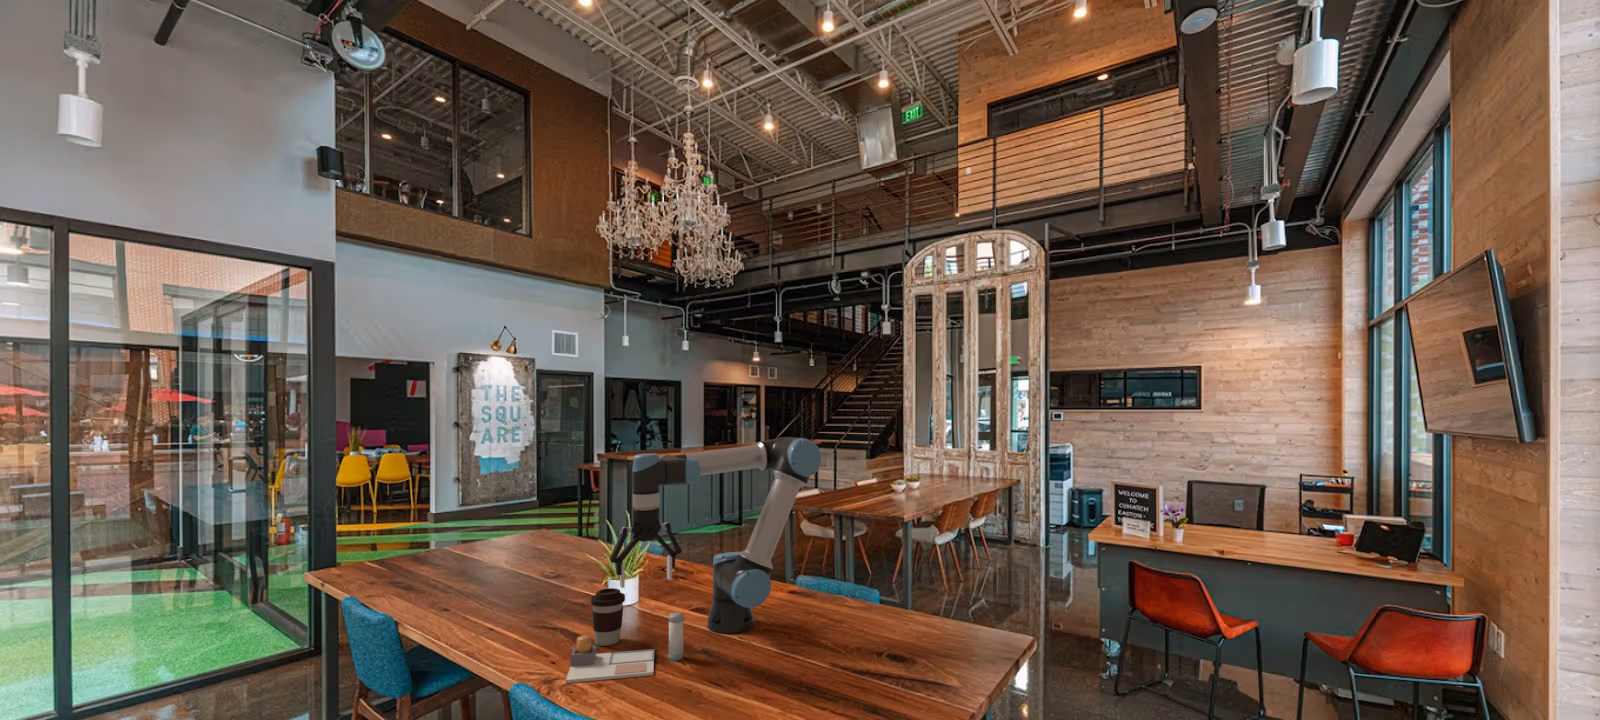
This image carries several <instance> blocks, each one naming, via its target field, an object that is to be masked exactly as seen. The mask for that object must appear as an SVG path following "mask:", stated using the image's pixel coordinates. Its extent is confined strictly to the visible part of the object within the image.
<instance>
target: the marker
mask: <svg viewBox="0 0 1600 720" xmlns="http://www.w3.org/2000/svg"><path fill="white" fill-rule="evenodd" d="M684 616H685V614H684V613H683V612H681V611H680V612H679V611H678V612H677V611H676V612H671V613H669V614H668V660H669V661H671V662H679V661H681V660H682V659H684V618H685V617H684Z"/></svg>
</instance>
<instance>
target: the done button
mask: <svg viewBox="0 0 1600 720" xmlns="http://www.w3.org/2000/svg"><path fill="white" fill-rule="evenodd" d="M591 645H592V636H591V635H589V634H587V635H585V634H584V635H580V636H577V638H576V647H577V654H578V653H590V652H591Z"/></svg>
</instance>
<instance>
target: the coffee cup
mask: <svg viewBox="0 0 1600 720" xmlns="http://www.w3.org/2000/svg"><path fill="white" fill-rule="evenodd" d="M625 601H626V595H625V593H623V592H621V590H620V589H619V588H614V587H611V588H610V587H609V588H603V589H600V590H598V591H596V594H595V595H593V596H591V598H590V604H591V606H592V626H593V627H592V628H593V631H594V632H593V636H594V645H596V646H600V647H607V646H608V647H609V646H613V645H615V644H618V643H619V641H620V639H621V630H622V629H621V628H622V624H623V614H624V607H623V605H624V602H625Z"/></svg>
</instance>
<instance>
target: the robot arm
mask: <svg viewBox="0 0 1600 720" xmlns="http://www.w3.org/2000/svg"><path fill="white" fill-rule="evenodd" d="M632 460H633V461H632V508H634V509H633V510H632V525H631V526H628V527H625V526H624V525H623V526H622V527H620V528H621V529H620V535H619V537H618V539H617V542H616V543H615V544H614V545H615V546H614V547H613V549H612V551H611V554H610V556H609V561H610V562H611V563H613V564H614V563H615V572H616V575H617V576H619V587H621V589H624V588H625V587H626V586H625V585H626V583H625V579H626V578H625V576H626V575H625V573H626V572H625V569H626V568H625V567H626V566H625V565H626V564H625V562H624V561H625V559H626V558H627V556H628V555H629V554H630V552H631V551H632V549H633V548H634V547H635V546H636V545H637V544H638V543H639V542H641V543H642V542H643V543H644V542H646V541H649V542H650V541H654V540H656V541H657V542H658V543H659V544H660V546H662V547H663V549H664V550H665V551H666V552H667V553H668V554H669V555H666V579H667V580H668V581H672V580H673V568H676V557H677V555H679V554H681V553H682V548H681V546H680V544H679V543H678V541H677V539H676V537H675V535H674V533H673V532H672V527H671V523H670V522H668V521H665V522H663V523H660V522H661V521H660V508H659V506H660V487H665V486H677V485H678V486H679V485H690V484H696V483H698V482H699V481H700V477H701V476H706V475H708V476H709V475H715V474H723V473H730V472H736V471H737V472H738V471H744V470H752V469H759V470H760V471H768V470H771V471H772V472H773V475H774V480H773V483H772V485H771V487H770V489H769V492H768V495H767V497H766V500H765V502H764V504H763V507H762V509H761V512H760V514H759V516H758V519H757V521H756V523H755V526H754V528H753V530H752V533H751V536H750V537H749V540H748V543H747V545H746V548H745V549H744V550H742V551H730V552H729V551H728V552H721V553H717V554H715V555H714V556H713V558H712V559H713V561H712V562H713V563H712V603H711V606H710V609H709V613H708V616H707V619H706V620H707V623H706V624H707V625H706V628H707V629H709V630H710V631H712V632H715V633H719V634H720V633H721V634H736V633H742V632H745V631H748V630H750V629H752V628H753V627H754V625H755V618H754V617H755V616H754V613H753V610H752V609H753V608H756V607H758V606H760V605H762V604H763V603H765V601H766V600H767V599H768V598H769V596H770V593H771V589H772V582H771V578H770V577H771V574H772V571H773V569H774V567H773V564H772V558H773V557H774V554H775V551H776V549H777V546H778V543H779V541H780V539H781V537H782V534H783V530H784V528H785V526H786V523H787V520H788V518H789V516H790V514H791V511H792V508H793V506H794V503H795V501H796V500H797V496H798V494H799V491H800V489H801V488H803V487H805V486H807V485H808V482H809V479H810V477H812V476H813V475H815V474H816V473H817V472H818V471H819V469H820V467H821V465H822V452H821V451H820V448H819V446H818V445H817V444H816V443H815V442H814V441H812V440H810V439H808V438H804V437H792V436H784V437H778V438H775V439H769V440H764V441H758V442H756V445H748V446H747V445H746V446H741V447H740V446H739V447H731V448H730V447H729V448H724V449H714V450H707V451H700V452H690V453H683V454H672V455H670V454H666V455H665V454H664V455H662V456H660V455H659V454H658V453H639V454H636V455H634V456H633V458H632ZM661 529H662V531H664V532H665V534H666V535H667V538H668V540H669V541H670V543H671V545H672V547H673V549H672V547H671V546H670V545H668V543H667V542H666V541H665V540H664V539H663V538H662V536H661V535H660V534H659V532H660V531H661ZM630 532H631V533H632V534H633V535H632V537H631V538H630V539H629V541H628V543H627V544H626V546H625V547H624V548H623V546H624V543H625V541H626V539H627V536H629V534H630ZM622 548H623V549H622ZM621 550H622V551H621ZM620 551H621V552H620Z"/></svg>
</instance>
